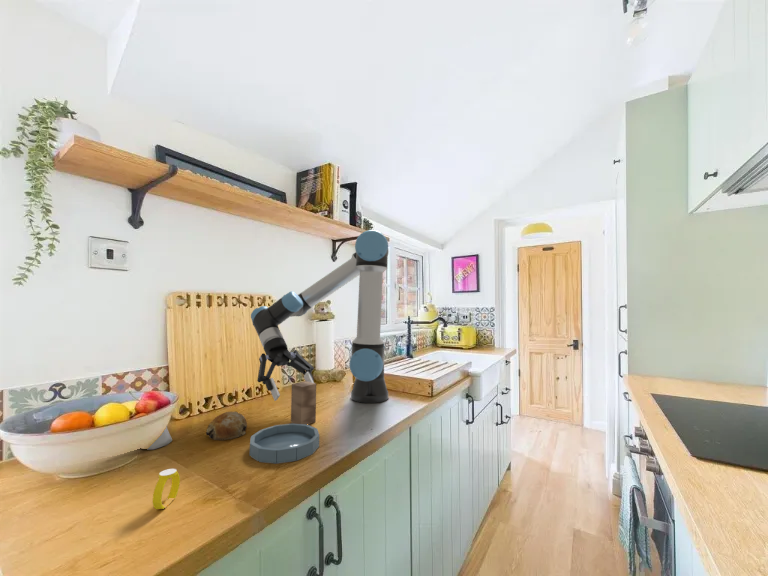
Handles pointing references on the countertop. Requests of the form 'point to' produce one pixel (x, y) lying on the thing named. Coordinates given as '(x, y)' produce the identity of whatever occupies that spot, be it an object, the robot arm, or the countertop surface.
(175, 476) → the watch
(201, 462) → the countertop surface
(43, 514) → the countertop surface
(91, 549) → the countertop surface
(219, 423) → the bread roll
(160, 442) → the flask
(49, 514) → the countertop surface
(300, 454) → the dish
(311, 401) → the box
